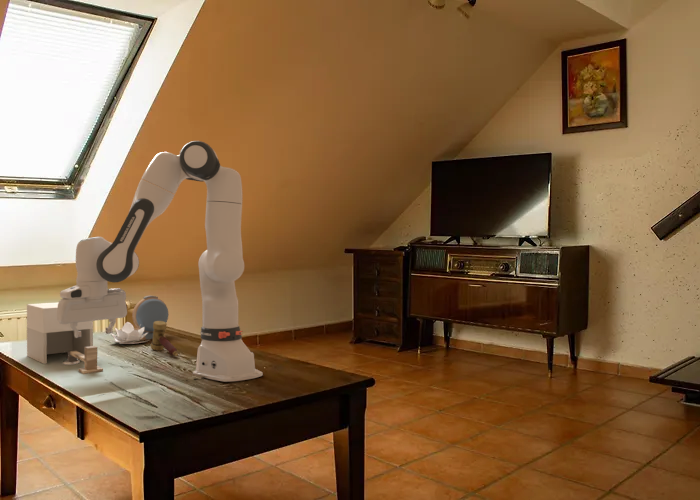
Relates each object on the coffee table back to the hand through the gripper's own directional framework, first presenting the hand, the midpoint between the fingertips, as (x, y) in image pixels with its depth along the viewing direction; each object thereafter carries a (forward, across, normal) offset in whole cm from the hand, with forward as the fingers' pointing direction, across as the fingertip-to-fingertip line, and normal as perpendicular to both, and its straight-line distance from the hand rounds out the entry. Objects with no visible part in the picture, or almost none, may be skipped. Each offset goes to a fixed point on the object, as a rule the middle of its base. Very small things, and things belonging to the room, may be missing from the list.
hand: (93, 335), depth 195 cm
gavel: (+14, -31, -16) cm, 37 cm away
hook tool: (+11, +1, -2) cm, 11 cm away
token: (+12, +1, -19) cm, 22 cm away
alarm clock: (+12, -41, -50) cm, 66 cm away
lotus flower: (+12, -29, -42) cm, 53 cm away
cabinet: (+11, 0, -33) cm, 35 cm away
